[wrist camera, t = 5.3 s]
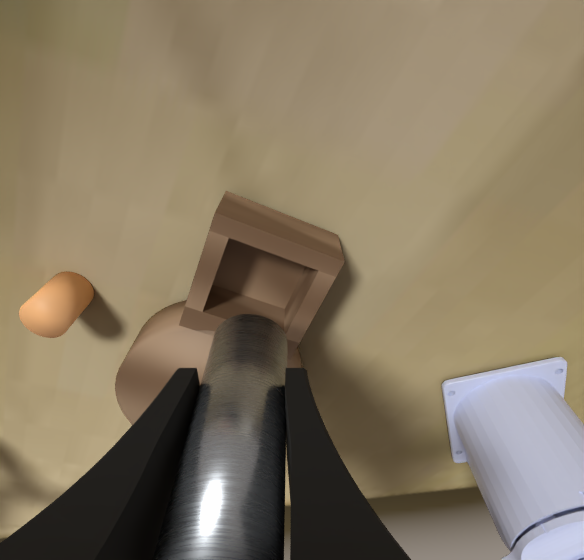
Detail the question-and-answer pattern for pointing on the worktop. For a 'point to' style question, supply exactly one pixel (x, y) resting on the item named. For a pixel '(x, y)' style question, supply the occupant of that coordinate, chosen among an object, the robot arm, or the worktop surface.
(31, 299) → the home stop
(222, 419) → the steel pin
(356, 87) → the worktop surface
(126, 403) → the wooden disc with frame
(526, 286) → the worktop surface
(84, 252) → the worktop surface
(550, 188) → the worktop surface
